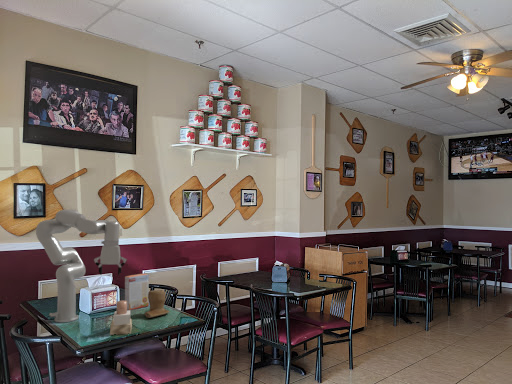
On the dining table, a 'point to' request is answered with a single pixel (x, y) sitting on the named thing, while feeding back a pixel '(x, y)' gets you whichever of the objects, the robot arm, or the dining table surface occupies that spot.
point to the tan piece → (156, 303)
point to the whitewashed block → (122, 318)
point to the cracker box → (137, 291)
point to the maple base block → (120, 328)
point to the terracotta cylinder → (121, 307)
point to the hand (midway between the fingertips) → (109, 274)
